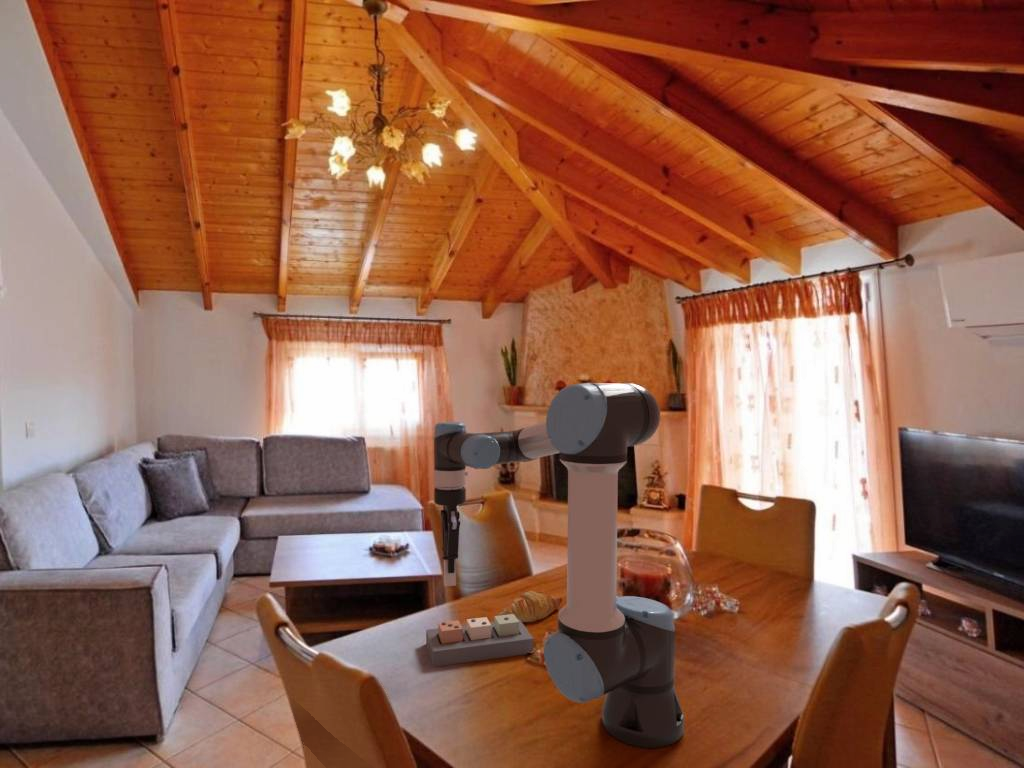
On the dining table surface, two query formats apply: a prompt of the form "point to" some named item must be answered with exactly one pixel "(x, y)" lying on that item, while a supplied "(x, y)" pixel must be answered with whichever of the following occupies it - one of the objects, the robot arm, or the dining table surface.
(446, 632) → the button three
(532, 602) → the croissant
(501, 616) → the button one
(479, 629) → the button two
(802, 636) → the dining table surface
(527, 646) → the console
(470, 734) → the dining table surface
